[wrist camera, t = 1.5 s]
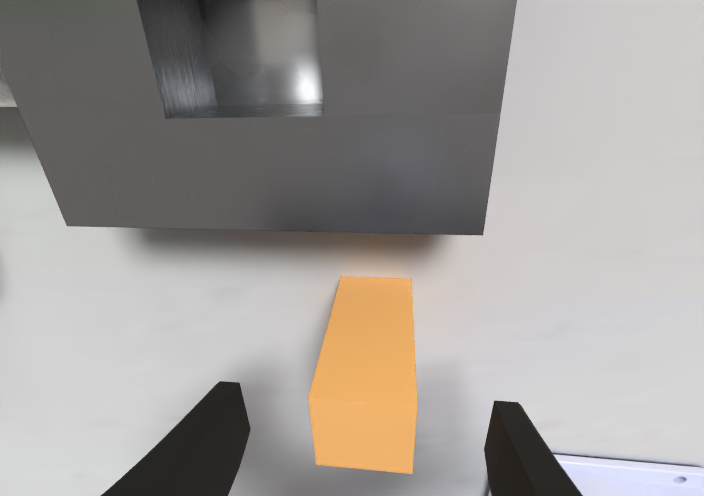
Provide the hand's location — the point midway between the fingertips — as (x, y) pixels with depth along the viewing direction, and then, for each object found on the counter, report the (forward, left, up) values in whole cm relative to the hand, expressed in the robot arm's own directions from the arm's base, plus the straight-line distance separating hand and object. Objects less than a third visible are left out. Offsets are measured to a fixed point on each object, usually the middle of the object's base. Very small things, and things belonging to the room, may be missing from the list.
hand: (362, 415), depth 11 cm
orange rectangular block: (0, 0, -5) cm, 5 cm away
